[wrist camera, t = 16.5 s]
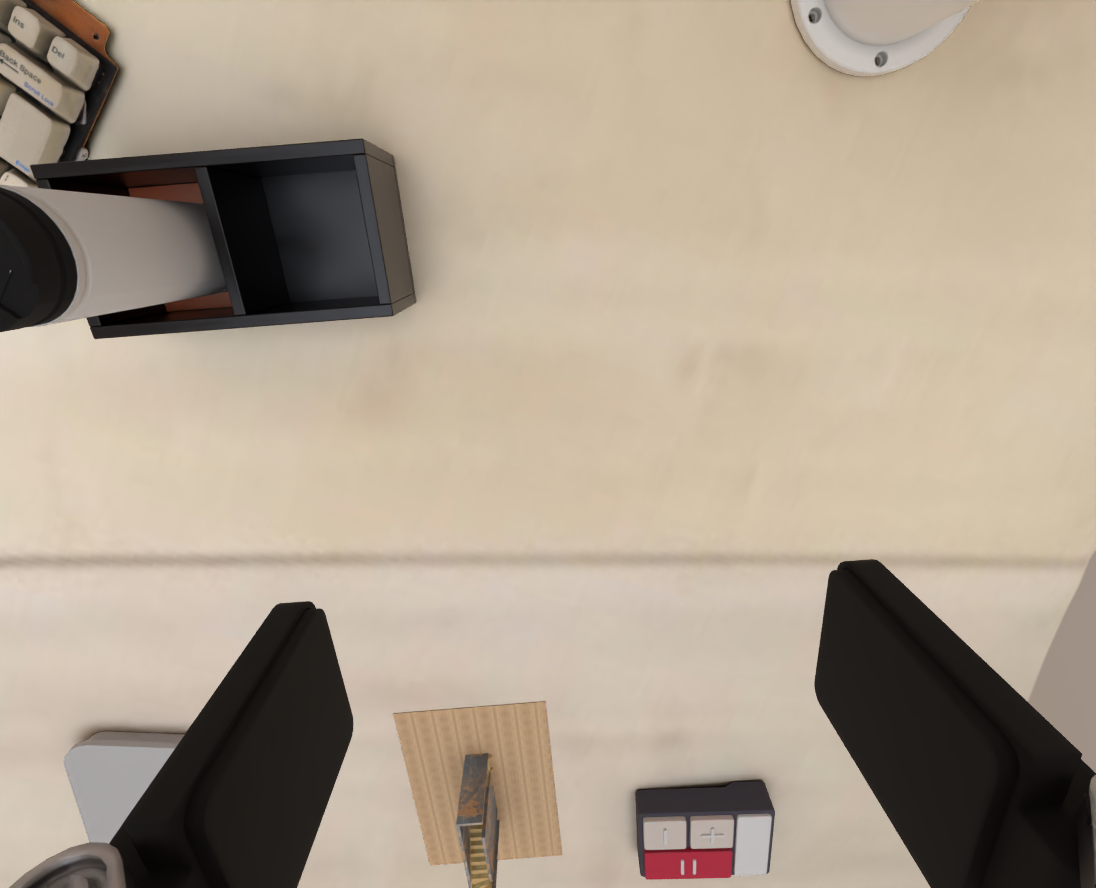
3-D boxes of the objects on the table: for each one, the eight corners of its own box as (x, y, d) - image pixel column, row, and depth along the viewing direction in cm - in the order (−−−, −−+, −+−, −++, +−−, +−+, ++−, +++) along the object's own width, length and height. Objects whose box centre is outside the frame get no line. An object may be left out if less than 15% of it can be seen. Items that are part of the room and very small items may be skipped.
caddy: (118, 176, 39) (28, 164, 32) (393, 155, 39) (362, 138, 32) (165, 322, 43) (93, 339, 36) (416, 302, 43) (393, 316, 36)
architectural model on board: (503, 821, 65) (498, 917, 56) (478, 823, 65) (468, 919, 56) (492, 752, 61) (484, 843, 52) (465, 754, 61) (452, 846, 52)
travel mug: (182, 181, 39) (-143, 131, 20) (267, 240, 40) (37, 244, 22) (147, 255, 41) (-182, 272, 22) (230, 309, 42) (-11, 368, 24)
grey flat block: (123, 882, 67) (110, 903, 65) (74, 725, 58) (57, 744, 56) (258, 885, 68) (249, 906, 66) (231, 731, 59) (219, 750, 57)
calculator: (639, 821, 60) (778, 817, 59) (634, 784, 64) (764, 780, 63) (641, 884, 64) (771, 881, 63) (636, 846, 68) (759, 843, 67)
